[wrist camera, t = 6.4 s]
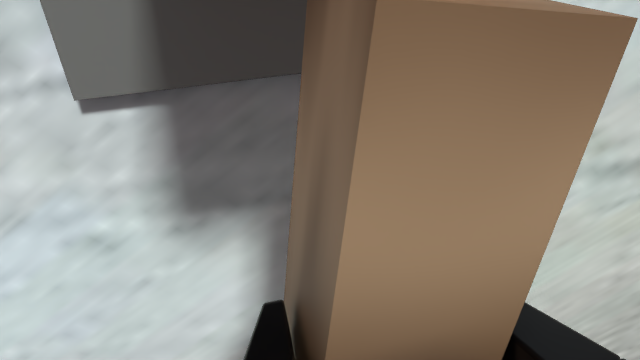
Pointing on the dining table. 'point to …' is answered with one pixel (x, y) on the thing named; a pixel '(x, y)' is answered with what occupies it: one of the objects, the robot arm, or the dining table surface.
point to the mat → (173, 42)
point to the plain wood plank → (435, 168)
